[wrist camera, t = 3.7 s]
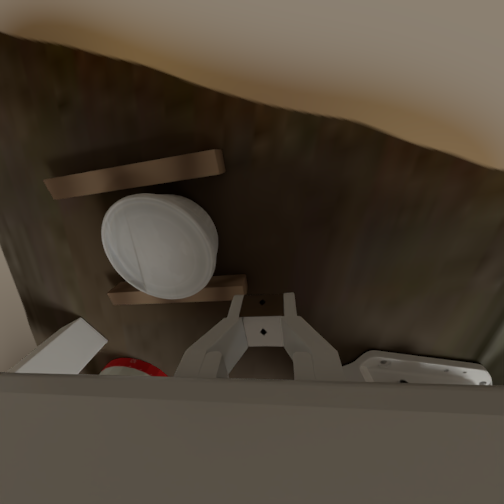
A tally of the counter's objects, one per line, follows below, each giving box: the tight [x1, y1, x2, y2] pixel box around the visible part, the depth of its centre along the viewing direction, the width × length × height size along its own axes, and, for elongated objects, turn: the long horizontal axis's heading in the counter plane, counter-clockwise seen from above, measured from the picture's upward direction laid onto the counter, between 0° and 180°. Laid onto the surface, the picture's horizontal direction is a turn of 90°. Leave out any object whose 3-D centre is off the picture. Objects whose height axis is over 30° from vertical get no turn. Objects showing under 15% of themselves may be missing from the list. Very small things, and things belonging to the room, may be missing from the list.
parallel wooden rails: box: [43, 149, 248, 305], centre depth 23 cm, size 18×16×2 cm
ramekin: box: [101, 193, 218, 299], centre depth 21 cm, size 11×11×5 cm
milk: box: [7, 317, 108, 374], centre depth 25 cm, size 6×6×22 cm
